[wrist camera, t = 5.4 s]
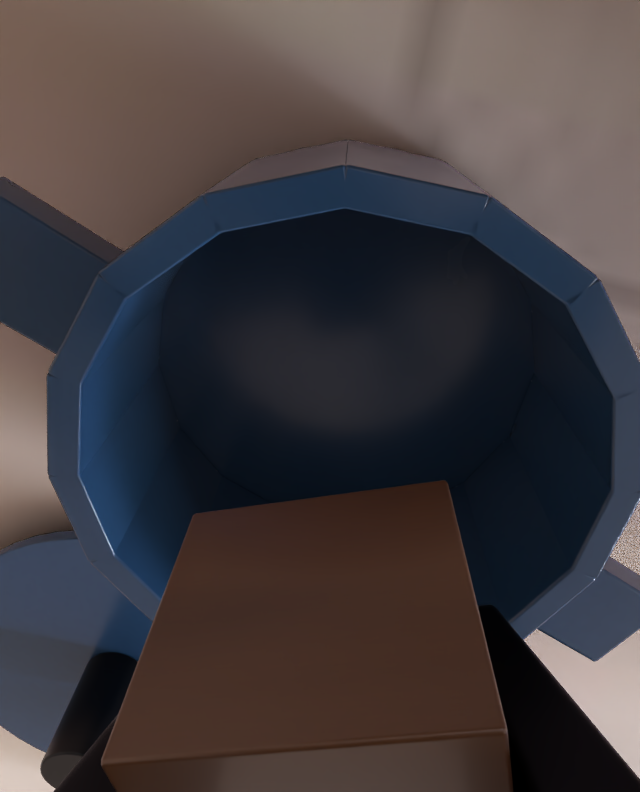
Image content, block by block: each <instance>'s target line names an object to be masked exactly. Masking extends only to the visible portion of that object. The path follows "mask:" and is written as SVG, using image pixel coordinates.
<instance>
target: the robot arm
mask: <svg viewBox="0 0 640 792" xmlns="http://www.w3.org/2000/svg"><path fill="white" fill-rule="evenodd" d="M478 610H479V614H480V618H481V622H482V626H483V630H484V634H485V638H486V642H487V647H488V651H489V655H490V659H491V663H492V667H493V671H494V675H495V680H496V684H497V688H498V692H499V696H500V700H501V704H502V708H503V712H504V717H505V721H506V725H507V729H508V739H509V749H510V760H511V770H512V781H513V792H640V779H639V778H638V777H637V775H636V774H635V773H634V772H633V771H632V769H631V768H630V767H629V766H628V765H627V763H626V762H625V761H624V760H623V759H622V757H621V756H620V755H619V754H618V753H617V751H616V750H615V749H614V748H613V747H612V746H611V744H610V743H609V742H608V741H607V740H606V738H605V737H604V736H603V735H602V734H601V732H600V731H599V730H598V729H597V728H596V726H595V725H594V724H593V723H592V722H591V720H590V719H589V718H588V717H587V716H586V714H585V713H584V712H583V711H582V710H581V708H580V707H579V706H578V705H577V704H576V703H575V701H574V700H573V699H572V698H571V697H570V695H569V694H568V693H567V692H566V691H565V689H564V688H563V687H562V686H561V685H560V683H559V682H558V681H557V680H556V679H555V677H554V676H553V675H552V674H551V673H550V671H549V670H548V669H547V668H546V667H545V665H544V664H543V663H542V662H541V661H540V660H539V658H538V657H537V656H536V655H535V654H534V652H533V651H532V650H531V649H530V648H529V646H528V645H527V644H526V643H525V642H524V640H523V639H522V638H521V637H520V636H519V634H518V633H517V632H516V631H515V630H514V628H513V627H512V626H511V625H510V624H509V622H508V621H507V620H506V619H505V618H504V617H503V615H502V614H501V613H500V612H499V611H498V609H497V608H496V607H494V606H493V605H479V606H478ZM117 716H118V715H117ZM117 716H116V717H115V718H114V720H113V721H112V722H111V723H110V724H109V726H108V727H107V728H106V729H105V730H104V732H103V733H102V734H101V735H100V736H99V738H98V739H97V740H96V741H95V742H94V744H93V745H92V746H91V747H90V748H89V750H88V751H87V752H86V753H85V754H84V756H83V757H82V758H81V759H80V760H79V762H78V763H77V764H76V765H75V766H74V768H73V769H72V770H71V771H70V772H69V774H68V775H67V776H66V777H65V778H64V780H63V781H62V782H61V783H60V784H59V786H58V787H57V788H56V789H55V790H54V792H116V791H115V789H114V787H113V785H112V784H111V782H110V780H109V779H108V777H107V775H106V773H105V772H104V770H103V768H102V766H101V758H102V756H103V753H104V750H105V748H106V745H107V743H108V740H109V737H110V735H111V732H112V729H113V727H114V724H115V721H116V719H117Z"/></svg>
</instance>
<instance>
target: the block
mask: <svg viewBox="0 0 640 792" xmlns="http://www.w3.org/2000/svg"><path fill="white" fill-rule="evenodd" d="M101 766H102V768H103V770H104V772H105V773H106V775H107V777H108V779H109V780H110V782H111V784H112V785H113V787H114V789H115V791H116V792H513V781H512V770H511V760H510V749H509V739H508V729H507V725H506V721H505V717H504V712H503V708H502V704H501V700H500V696H499V692H498V688H497V684H496V680H495V675H494V671H493V667H492V663H491V659H490V655H489V651H488V647H487V642H486V638H485V634H484V630H483V626H482V622H481V618H480V614H479V610H478V605H477V601H476V597H475V593H474V589H473V585H472V581H471V577H470V572H469V568H468V564H467V560H466V556H465V552H464V548H463V544H462V539H461V535H460V531H459V527H458V523H457V519H456V515H455V511H454V507H453V502H452V498H451V494H450V490H449V486H448V483H447V482H446V481H445V480H440V481H433V482H426V483H418V484H411V485H403V486H396V487H388V488H381V489H373V490H366V491H359V492H351V493H344V494H336V495H329V496H321V497H314V498H306V499H299V500H292V501H284V502H277V503H269V504H262V505H254V506H247V507H239V508H232V509H225V510H217V511H210V512H202V513H196V514H194V515H193V517H192V519H191V522H190V525H189V527H188V530H187V532H186V535H185V538H184V540H183V543H182V546H181V548H180V551H179V554H178V556H177V559H176V562H175V564H174V567H173V570H172V572H171V575H170V578H169V580H168V583H167V586H166V588H165V591H164V594H163V596H162V599H161V602H160V604H159V607H158V610H157V612H156V615H155V618H154V620H153V623H152V626H151V628H150V631H149V634H148V636H147V639H146V641H145V644H144V647H143V649H142V652H141V655H140V657H139V660H138V663H137V665H136V668H135V671H134V673H133V676H132V679H131V681H130V684H129V687H128V689H127V692H126V695H125V697H124V700H123V703H122V705H121V708H120V711H119V713H118V716H117V719H116V721H115V724H114V727H113V729H112V732H111V735H110V737H109V740H108V743H107V745H106V748H105V750H104V753H103V756H102V758H101Z"/></svg>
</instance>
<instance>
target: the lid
mask: <svg viewBox="0 0 640 792" xmlns="http://www.w3.org/2000/svg"><path fill="white" fill-rule="evenodd" d="M152 623H153V622H152V621H151V620H150V619H149V618H148V617H147V616H146V615H145V614H144V613H142V612H141V611H140V610H139V609H138V608H137V607H136V606H135V605H134V604H133V603H132V602H131V601H130V600H129V599H128V598H127V597H126V596H125V595H124V594H123V593H122V592H120V591H119V590H118V589H117V588H116V587H115V586H114V585H113V584H112V583H111V582H110V581H109V580H108V579H107V578H106V577H105V576H104V575H103V574H102V573H101V572H100V571H98V570H97V569H96V568H95V567H94V566H93V565H92V564H91V561H88V559H87V557H86V555H85V553H84V550H83V548H82V546H81V544H80V542H79V540H78V538H77V536H76V534H75V531H74V530H73V531H60V532H53V533H48V534H43V535H38V536H34V537H31V538H28V539H25V540H22V541H19V542H16V543H13V544H11V545H9V546H7V547H5V548H3V549H1V550H0V726H2V727H3V728H4V729H6V730H7V731H9V732H10V733H12V734H13V735H15V736H16V737H18V738H19V739H21V740H23V741H24V742H26V743H28V744H30V745H31V746H33V747H35V748H37V749H39V750H41V751H44V752H46V754H45V756H44V758H43V760H42V763H41V774H42V776H43V778H44V779H45V780H46V781H47V782H48V783H49V784H50V785H51V786H53V787H54V788H57V787H58V786H59V784H60V783H61V782H62V781H63V780H64V778H65V777H66V776H67V775H68V774H69V772H70V771H71V770H72V769H73V768H74V766H75V765H76V764H77V763H78V762H79V760H80V759H81V758H82V757H83V756H84V754H85V753H86V752H87V751H88V750H89V748H90V747H91V746H92V745H93V744H94V742H95V741H96V740H97V739H98V738H99V736H100V735H101V734H102V733H103V732H104V730H105V729H106V728H107V727H108V726H109V724H110V723H111V722H112V721H113V720H114V718H115V717H116V716H117V715H118V713H119V711H120V708H121V705H122V703H123V700H124V697H125V695H126V692H127V689H128V687H129V684H130V681H131V679H132V676H133V673H134V671H135V668H136V665H137V663H138V660H139V657H140V655H141V652H142V649H143V647H144V644H145V641H146V639H147V636H148V634H149V631H150V628H151V626H152Z"/></svg>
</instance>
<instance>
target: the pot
mask: <svg viewBox="0 0 640 792" xmlns="http://www.w3.org/2000/svg"><path fill="white" fill-rule="evenodd" d="M0 322H1V323H3V324H5V325H6V326H8V327H10V328H12V329H13V330H15V331H17V332H19V333H20V334H22V335H24V336H25V337H27V338H29V339H31V340H32V341H34V342H36V343H38V344H39V345H41V346H43V347H45V348H46V349H48V350H50V351H52V352H53V353H55V354H56V356H55V358H54V360H53V362H52V364H51V366H50V368H49V373H48V374H47V456H48V475H49V479H50V481H51V483H52V485H53V487H54V489H55V492H56V494H57V496H58V498H59V500H60V502H61V504H62V506H63V508H64V510H65V513H66V515H67V517H68V519H69V521H70V523H71V525H72V527H73V529H74V531H75V534H76V536H77V538H78V540H79V542H80V544H81V546H82V548H83V550H84V553H85V555H86V557H87V559H88V561H91V564H92V565H93V566H94V567H95V568H96V569H97V570H98V571H100V572H101V573H102V574H103V575H104V576H105V577H106V578H107V579H108V580H109V581H110V582H111V583H112V584H113V585H114V586H115V587H116V588H117V589H118V590H119V591H120V592H122V593H123V594H124V595H125V596H126V597H127V598H128V599H129V600H130V601H131V602H132V603H133V604H134V605H135V606H136V607H137V608H138V609H139V610H140V611H141V612H142V613H144V614H145V615H146V616H147V617H148V618H149V619H150V620H151V621H152V622H153V620H154V618H155V615H156V612H157V610H158V607H159V604H160V602H161V599H162V596H163V594H164V591H165V588H166V586H167V583H168V580H169V578H170V575H171V572H172V570H173V567H174V564H175V562H176V559H177V556H178V554H179V551H180V548H181V546H182V543H183V540H184V538H185V535H186V532H187V530H188V527H189V525H190V522H191V519H192V517H193V515H194V514H196V513H202V512H210V511H217V510H225V509H232V508H239V507H247V506H254V505H262V504H269V503H277V502H284V501H292V500H299V499H306V498H314V497H321V496H329V495H336V494H344V493H351V492H359V491H366V490H373V489H381V488H388V487H396V486H403V485H411V484H418V483H426V482H433V481H440V480H445V481H446V482H447V483H448V486H449V490H450V494H451V498H452V502H453V507H454V511H455V515H456V519H457V523H458V527H459V531H460V535H461V539H462V544H463V548H464V552H465V556H466V560H467V564H468V568H469V572H470V577H471V581H472V585H473V589H474V593H475V597H476V601H477V605H478V606H479V605H493V606H494V607H496V608H497V609H498V611H499V612H500V613H501V614H502V615H503V617H504V618H505V619H506V620H507V621H508V622H509V624H510V625H511V626H512V627H513V628H514V630H515V631H516V632H517V633H518V634H519V636H520V637H521V638H522V639H525V638H526V637H528V636H529V635H530V634H531V633H532V632H534V631H535V630H536V629H538V630H540V631H542V632H543V633H545V634H547V635H549V636H550V637H552V638H554V639H556V640H557V641H559V642H561V643H563V644H564V645H566V646H568V647H570V648H571V649H573V650H575V651H577V652H578V653H580V654H582V655H584V656H585V657H587V658H589V659H591V660H592V661H598V660H599V659H600V658H602V657H603V656H604V655H606V654H607V653H608V652H610V651H611V650H612V649H613V648H615V647H616V646H617V645H619V644H620V643H621V642H623V641H624V640H625V639H627V638H628V637H629V636H631V635H632V634H633V633H635V632H636V631H637V630H639V629H640V575H638V574H637V573H635V572H634V571H632V570H630V569H629V568H627V567H626V566H624V565H622V564H621V563H619V562H618V561H616V560H614V559H613V558H611V557H610V555H611V553H612V551H613V549H614V547H615V545H616V544H617V542H618V540H619V538H620V536H621V534H622V533H623V531H624V529H625V527H626V525H627V523H628V522H629V520H630V518H631V516H632V514H633V512H634V511H635V509H636V507H637V505H638V503H639V501H640V362H639V360H638V358H637V355H636V353H635V351H634V349H633V347H632V345H631V343H630V341H629V339H628V337H627V335H626V332H625V330H624V328H623V326H622V324H621V322H620V320H619V318H618V316H617V314H616V312H615V309H614V307H613V305H612V303H611V301H610V299H609V297H608V295H607V293H606V291H605V289H604V286H603V284H602V282H601V280H600V279H598V278H597V276H596V275H595V274H594V273H592V272H591V271H590V270H588V269H587V268H586V267H584V266H583V265H582V264H581V263H579V262H578V261H577V260H575V259H574V258H573V257H571V256H570V255H569V254H567V253H566V252H565V251H563V250H562V249H561V248H559V247H558V246H557V245H556V244H554V243H553V242H552V241H550V240H549V239H548V238H546V237H545V236H544V235H542V234H541V233H540V232H538V231H537V230H536V229H534V228H533V227H532V226H530V225H529V224H528V223H527V222H525V221H524V220H523V219H521V218H520V217H519V216H517V215H516V214H515V213H513V212H512V211H511V210H509V209H508V208H507V207H505V206H504V205H503V204H501V203H500V202H499V201H498V200H496V199H495V198H494V197H492V196H491V195H490V194H488V193H487V192H486V191H484V190H483V189H481V188H480V187H479V186H477V185H476V184H475V183H473V182H472V181H471V180H469V179H468V178H467V177H465V176H464V175H463V174H461V173H460V172H459V171H457V170H456V169H455V168H453V167H452V166H450V165H449V164H448V163H446V162H445V161H442V160H441V159H436V158H431V157H427V156H422V155H418V154H413V153H409V152H405V151H402V150H399V149H395V148H389V147H382V146H377V145H372V144H367V143H363V142H358V141H354V140H349V141H348V140H342V141H337V142H333V143H328V144H323V145H319V146H313V147H306V148H300V149H297V150H293V151H290V152H286V153H281V154H276V155H272V156H267V157H262V158H257V159H255V160H253V161H251V162H249V163H248V164H246V165H245V166H243V167H242V168H240V169H239V170H237V171H236V172H234V173H233V174H231V175H230V176H228V177H227V178H225V179H224V180H222V181H221V182H219V183H218V184H216V185H215V186H213V187H212V188H210V189H209V190H207V191H206V192H204V193H203V194H201V195H200V196H198V197H197V198H196V199H194V200H193V201H192V202H190V203H189V204H188V205H186V206H185V207H183V208H182V209H181V210H179V211H178V212H177V213H175V214H174V215H173V216H171V217H170V218H169V219H167V220H166V221H165V222H163V223H162V224H161V225H159V226H158V227H157V228H155V229H154V230H153V231H151V232H150V233H148V234H147V235H146V236H144V237H143V238H142V239H140V240H139V241H138V242H136V243H135V244H134V245H132V246H131V247H130V248H128V249H127V250H126V251H122V250H120V249H119V248H117V247H116V246H114V245H112V244H111V243H109V242H108V241H106V240H104V239H103V238H101V237H100V236H98V235H96V234H95V233H93V232H92V231H90V230H88V229H87V228H85V227H84V226H82V225H81V224H79V223H77V222H76V221H74V220H73V219H71V218H69V217H68V216H66V215H65V214H63V213H61V212H60V211H58V210H57V209H55V208H53V207H52V206H50V205H49V204H47V203H45V202H44V201H42V200H41V199H39V198H37V197H36V196H34V195H33V194H31V193H30V192H28V191H26V190H25V189H23V188H22V187H20V186H18V185H17V184H15V183H14V182H12V181H10V180H9V179H7V178H6V177H0Z"/></svg>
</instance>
